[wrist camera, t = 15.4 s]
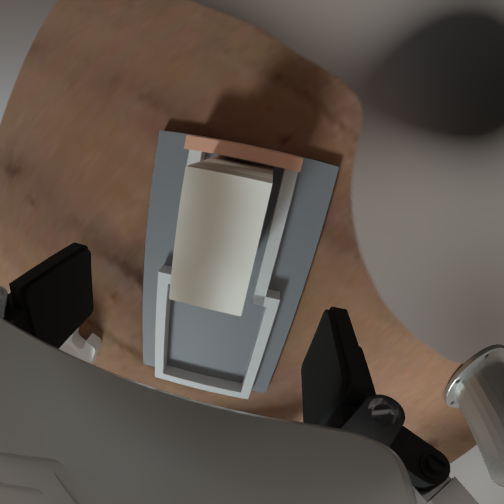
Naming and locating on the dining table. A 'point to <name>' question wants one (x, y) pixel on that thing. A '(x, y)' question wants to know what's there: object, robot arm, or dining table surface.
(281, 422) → the robot arm
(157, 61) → the dining table surface
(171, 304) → the stepped grey tray
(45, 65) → the dining table surface
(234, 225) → the slider block
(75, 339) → the cable organizer
